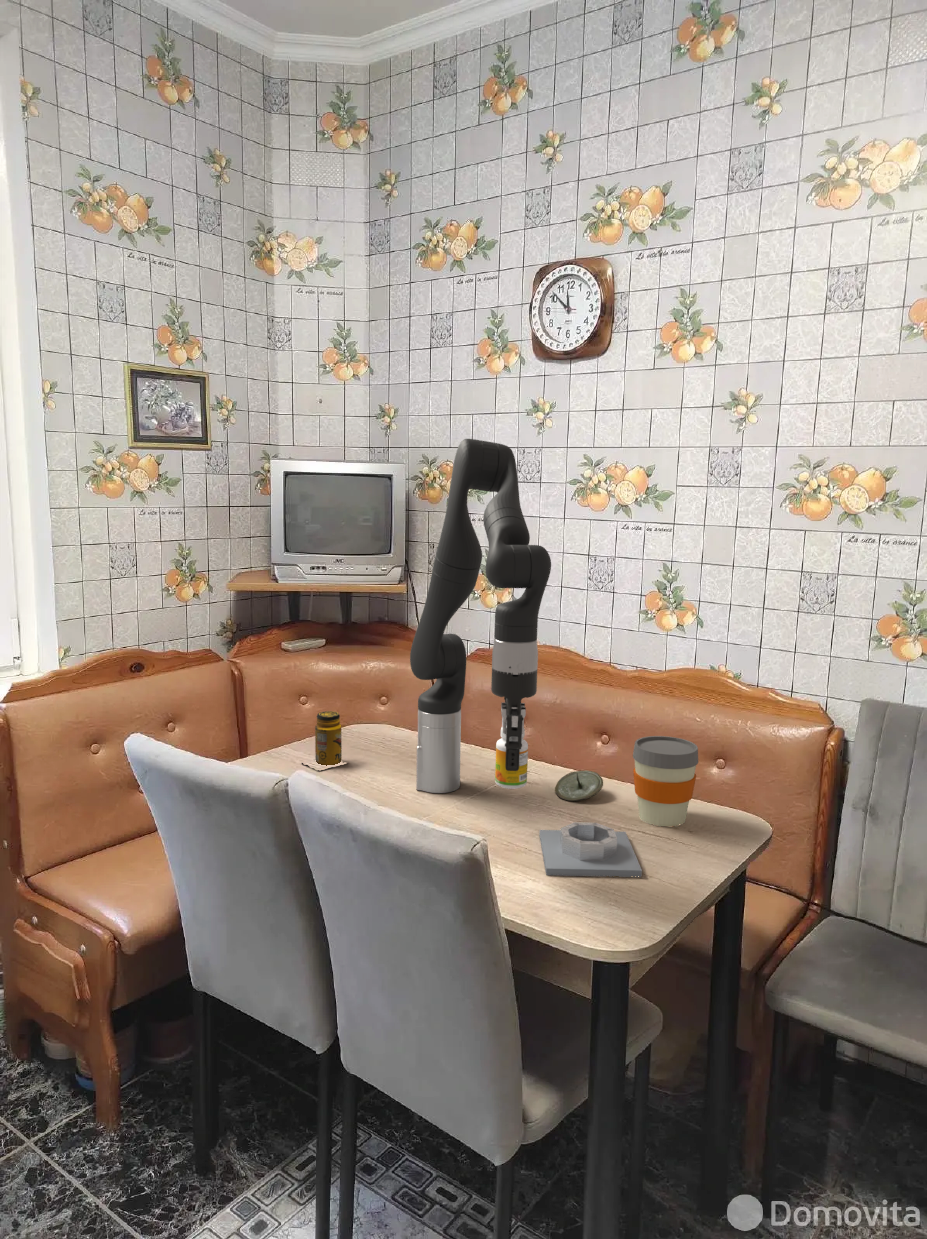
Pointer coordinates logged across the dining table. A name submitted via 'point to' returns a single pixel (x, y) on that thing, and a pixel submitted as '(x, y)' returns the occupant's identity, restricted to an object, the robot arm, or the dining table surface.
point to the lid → (578, 785)
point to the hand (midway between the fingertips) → (511, 763)
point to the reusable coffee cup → (664, 778)
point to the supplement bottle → (501, 774)
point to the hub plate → (569, 866)
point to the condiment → (328, 738)
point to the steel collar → (588, 841)
